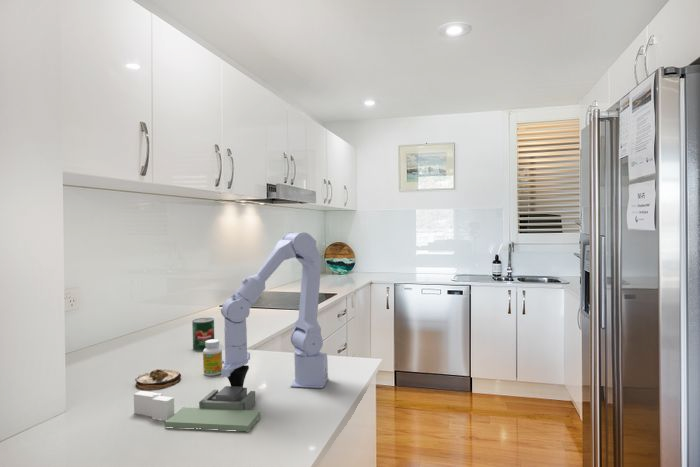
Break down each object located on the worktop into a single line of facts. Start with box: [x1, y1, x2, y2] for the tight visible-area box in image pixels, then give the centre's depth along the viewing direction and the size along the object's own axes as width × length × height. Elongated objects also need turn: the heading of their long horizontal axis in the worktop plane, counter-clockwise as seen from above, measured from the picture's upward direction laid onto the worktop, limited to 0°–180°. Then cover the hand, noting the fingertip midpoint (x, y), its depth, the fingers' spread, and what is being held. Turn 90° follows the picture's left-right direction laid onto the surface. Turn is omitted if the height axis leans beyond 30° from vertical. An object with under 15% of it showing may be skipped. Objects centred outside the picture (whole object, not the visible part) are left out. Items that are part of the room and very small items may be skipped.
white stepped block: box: [133, 390, 175, 421], centre depth 109 cm, size 15×11×6 cm
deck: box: [164, 389, 261, 433], centre depth 109 cm, size 20×16×3 cm
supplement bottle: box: [202, 338, 223, 377], centre depth 140 cm, size 6×6×10 cm
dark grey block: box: [212, 385, 248, 402], centre depth 114 cm, size 6×8×4 cm
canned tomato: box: [191, 317, 215, 353], centre depth 167 cm, size 8×8×11 cm
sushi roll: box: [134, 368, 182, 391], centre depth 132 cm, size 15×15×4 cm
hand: (237, 394), depth 118 cm, fingers closed
